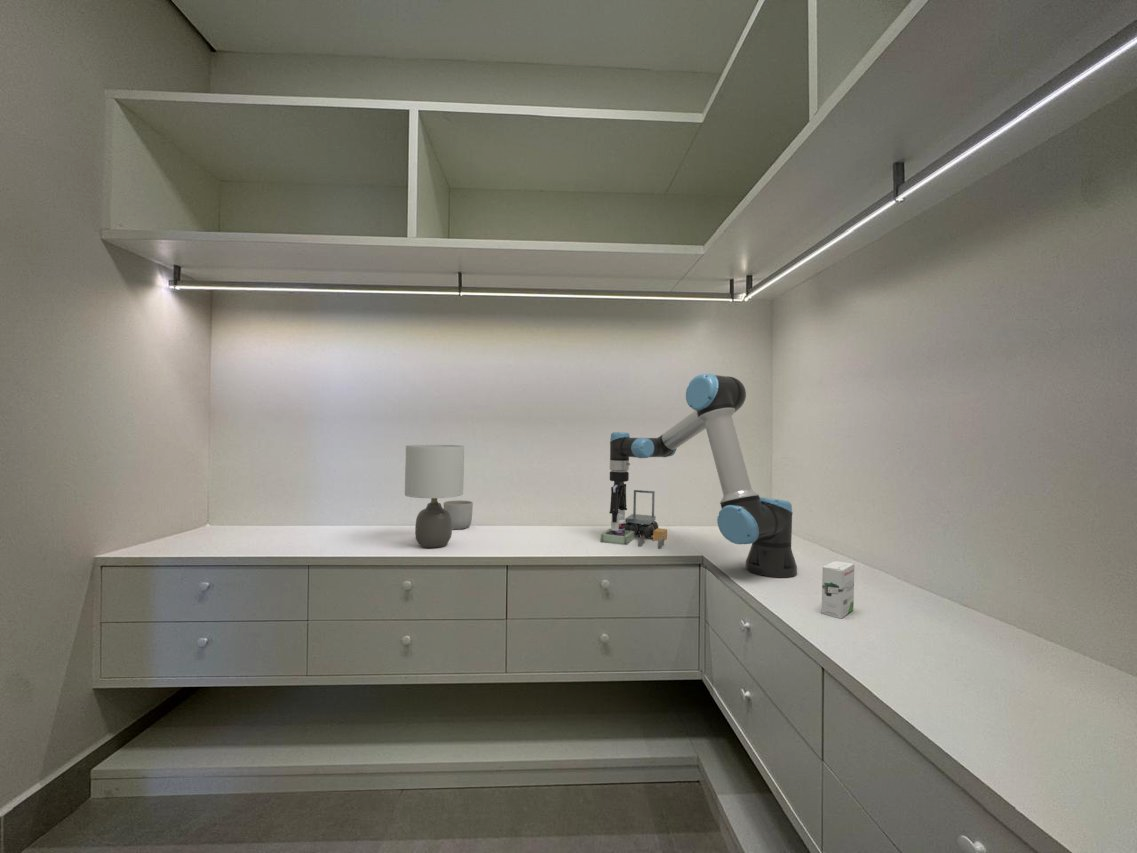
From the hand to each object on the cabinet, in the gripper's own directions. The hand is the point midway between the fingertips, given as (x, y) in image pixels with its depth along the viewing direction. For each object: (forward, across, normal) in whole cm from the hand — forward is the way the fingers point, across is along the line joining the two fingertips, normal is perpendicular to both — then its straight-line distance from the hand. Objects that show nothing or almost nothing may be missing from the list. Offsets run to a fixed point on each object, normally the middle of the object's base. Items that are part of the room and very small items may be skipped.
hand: (618, 528), depth 198 cm
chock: (+5, +9, -15) cm, 18 cm away
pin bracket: (+5, -3, -14) cm, 15 cm away
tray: (+5, 0, 0) cm, 5 cm away
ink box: (+5, -52, -71) cm, 88 cm away
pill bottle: (+4, 0, 0) cm, 4 cm away
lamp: (+5, -39, +59) cm, 71 cm away
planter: (+5, -8, +70) cm, 70 cm away
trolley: (+5, +13, -6) cm, 15 cm away
